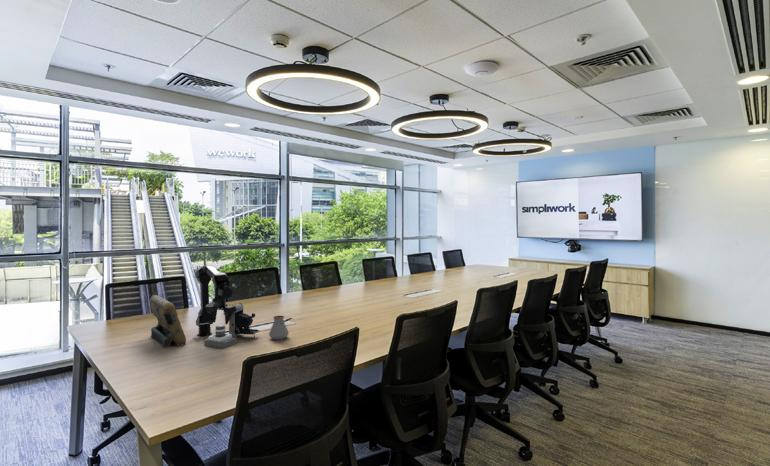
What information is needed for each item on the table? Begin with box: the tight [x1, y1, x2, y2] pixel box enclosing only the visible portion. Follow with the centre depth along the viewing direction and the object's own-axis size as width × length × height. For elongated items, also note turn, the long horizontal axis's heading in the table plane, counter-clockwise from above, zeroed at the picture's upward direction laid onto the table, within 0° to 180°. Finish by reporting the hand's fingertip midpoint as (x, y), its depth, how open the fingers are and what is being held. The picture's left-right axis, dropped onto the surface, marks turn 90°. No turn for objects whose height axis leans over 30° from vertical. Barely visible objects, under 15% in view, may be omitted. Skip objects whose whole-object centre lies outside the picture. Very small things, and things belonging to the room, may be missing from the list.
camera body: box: [203, 332, 238, 349], centre depth 224 cm, size 14×10×5 cm
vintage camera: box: [228, 302, 261, 339], centre depth 237 cm, size 10×15×20 cm, turn 79°
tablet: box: [149, 294, 187, 348], centre depth 231 cm, size 33×14×25 cm, turn 48°
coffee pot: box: [268, 315, 294, 341], centre depth 233 cm, size 21×12×15 cm, turn 42°
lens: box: [214, 324, 226, 338], centre depth 224 cm, size 5×5×7 cm
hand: (220, 323), depth 224 cm, fingers open, 9 cm apart
